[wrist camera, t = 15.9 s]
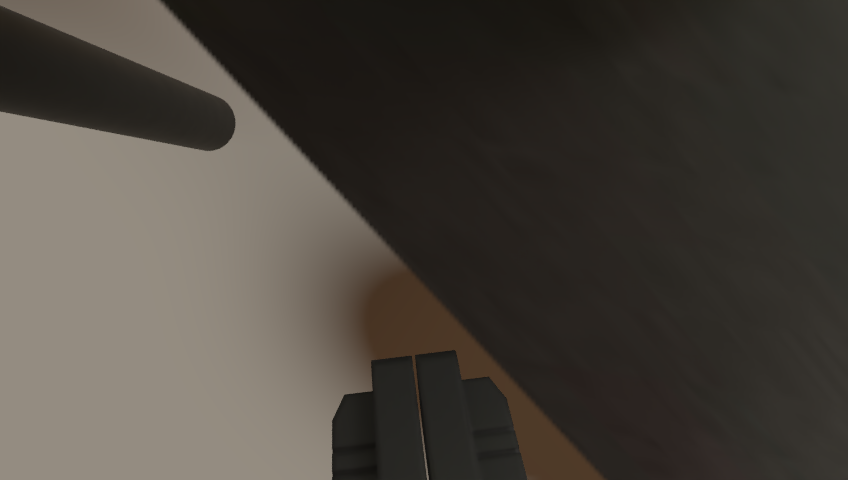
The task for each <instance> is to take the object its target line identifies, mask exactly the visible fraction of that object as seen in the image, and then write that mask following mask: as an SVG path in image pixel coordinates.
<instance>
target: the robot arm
mask: <svg viewBox="0 0 848 480" xmlns="http://www.w3.org/2000/svg"><path fill="white" fill-rule="evenodd" d="M415 359H416V369H417V379H418V389H419V399H420V409H421V418H422V427H423V435H424V443H425V452H426V459H427V468H428V475H429V480H527V476H526V473H525V469H524V465H523V461H522V457H521V453H520V452H519V445H518V441H517V438H516V434H515V431H514V427H513V422H512V418H511V414H510V410H509V406H508V403H507V399H506V397H505V396H504V395H503V394H502V392H501V391H500V390H499V389H498V388H497V386H496V385H495V384H494V383H493V381H492V380H491V379H490V378H489V377H483V378H475V379H466V380H461V375H460V370H459V365H458V359H457V355H456V351H455V350H452V351H445V352H436V353H428V354H419V355H415ZM371 365H372V366H371V368H372V384H373V385H372V386H373V391H372V392H363V393H355V394H347V395H344V397H343V399H342V401H341V403H340V406H339V408H338V410H337V412H336V414H335V416H334V418H333V420H332V449H333V454H332V474H333V477H332V480H427V477H426V469H425V461H424V452H423V444H422V436H421V428H420V420H419V411H418V404H417V395H416V387H415V380H414V371H413V363H412V356H405V357H396V358H388V359H380V360H372V362H371Z"/></svg>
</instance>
